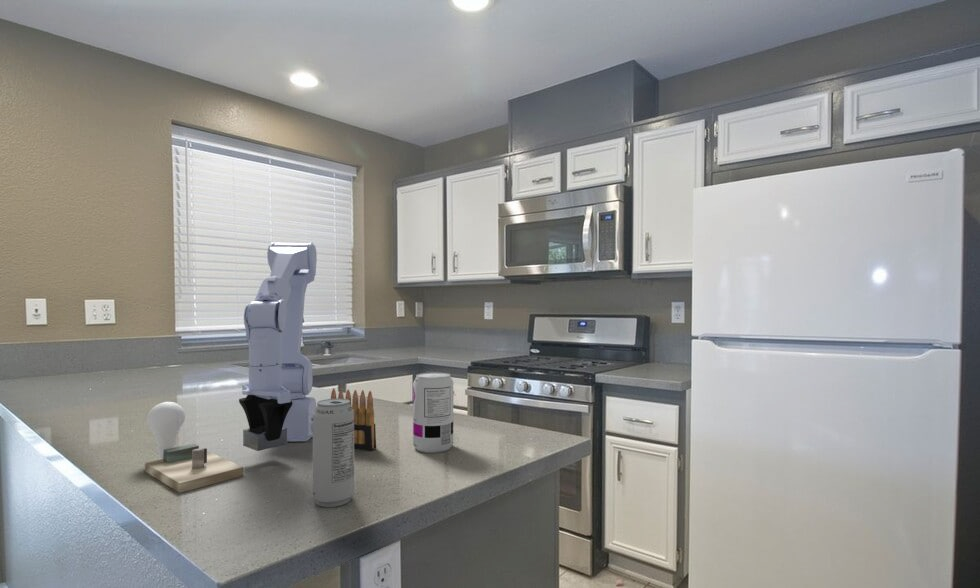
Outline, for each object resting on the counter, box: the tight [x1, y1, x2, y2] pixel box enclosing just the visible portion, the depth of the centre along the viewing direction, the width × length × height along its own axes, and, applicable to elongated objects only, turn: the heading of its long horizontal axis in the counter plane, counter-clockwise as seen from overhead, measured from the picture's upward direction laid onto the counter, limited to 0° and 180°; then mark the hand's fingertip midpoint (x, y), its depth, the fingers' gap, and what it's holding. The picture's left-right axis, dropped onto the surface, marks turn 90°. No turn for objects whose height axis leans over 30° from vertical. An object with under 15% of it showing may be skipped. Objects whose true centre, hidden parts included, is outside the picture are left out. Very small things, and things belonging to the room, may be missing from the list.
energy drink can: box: [312, 398, 355, 508], centre depth 77 cm, size 6×6×15 cm
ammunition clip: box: [330, 388, 377, 452], centre depth 105 cm, size 11×2×12 cm, turn 71°
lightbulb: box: [146, 401, 186, 459], centre depth 97 cm, size 6×6×11 cm
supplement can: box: [412, 372, 454, 454], centre depth 104 cm, size 8×8×15 cm
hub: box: [242, 425, 288, 452], centre depth 95 cm, size 6×6×3 cm
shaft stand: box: [144, 443, 244, 494], centre depth 89 cm, size 16×10×4 cm, turn 51°
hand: (265, 436), depth 95 cm, fingers closed on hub, 6 cm apart
